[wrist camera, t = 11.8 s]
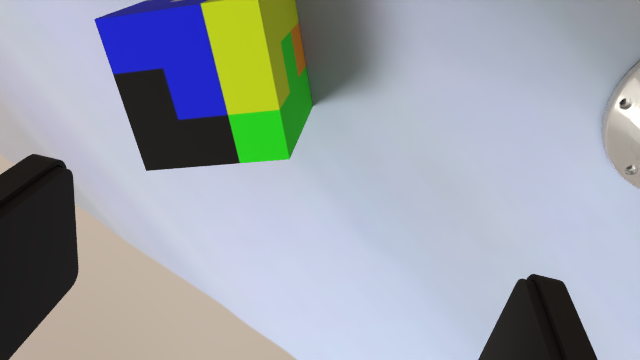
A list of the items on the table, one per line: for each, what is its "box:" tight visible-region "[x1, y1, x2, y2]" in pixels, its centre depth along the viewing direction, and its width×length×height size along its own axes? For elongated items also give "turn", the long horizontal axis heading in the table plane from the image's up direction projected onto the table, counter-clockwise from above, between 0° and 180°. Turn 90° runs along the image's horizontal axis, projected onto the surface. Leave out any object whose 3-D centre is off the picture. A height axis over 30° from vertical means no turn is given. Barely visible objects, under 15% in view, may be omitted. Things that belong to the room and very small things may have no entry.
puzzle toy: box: [95, 0, 313, 171], centre depth 35 cm, size 10×10×10 cm
